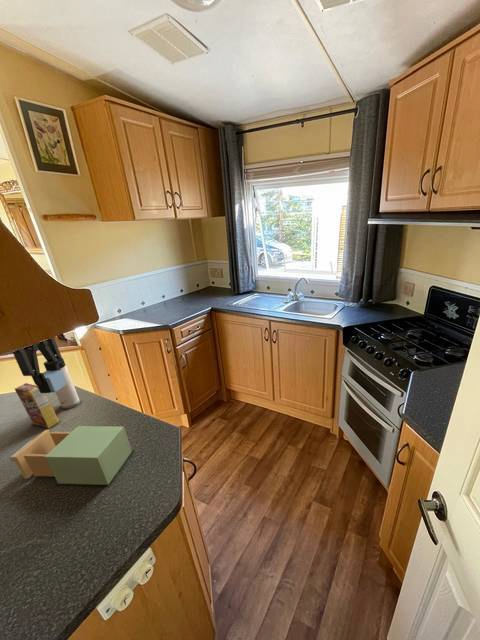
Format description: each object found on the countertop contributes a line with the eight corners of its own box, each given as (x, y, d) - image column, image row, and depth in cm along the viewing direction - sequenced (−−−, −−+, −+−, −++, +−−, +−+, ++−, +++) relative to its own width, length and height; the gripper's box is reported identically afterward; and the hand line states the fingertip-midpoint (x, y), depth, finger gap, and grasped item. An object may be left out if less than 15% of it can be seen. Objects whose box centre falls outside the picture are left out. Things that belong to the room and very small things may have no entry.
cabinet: (57, 483, 79) (44, 456, 75) (87, 450, 91) (77, 426, 86) (108, 484, 78) (97, 457, 74) (132, 451, 89) (123, 426, 85)
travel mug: (64, 411, 112) (45, 364, 103) (60, 405, 116) (40, 360, 108) (82, 403, 116) (64, 358, 107) (77, 398, 120) (60, 354, 112)
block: (39, 392, 88) (33, 378, 86) (52, 384, 93) (46, 370, 91) (55, 392, 88) (49, 378, 86) (66, 384, 92) (61, 370, 90)
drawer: (10, 478, 81) (-3, 456, 77) (42, 449, 91) (32, 429, 88) (69, 479, 79) (59, 457, 76) (95, 450, 89) (87, 429, 86)
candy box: (31, 424, 105) (13, 388, 98) (43, 417, 109) (26, 382, 102) (47, 429, 102) (30, 392, 95) (59, 421, 106) (43, 385, 99)
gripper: (6, 325, 72) (42, 403, 82) (58, 306, 88) (82, 373, 98) (-22, 326, 73) (17, 404, 82) (35, 307, 89) (61, 374, 99)
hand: (52, 387), depth 90 cm, fingers closed on block, 5 cm apart
